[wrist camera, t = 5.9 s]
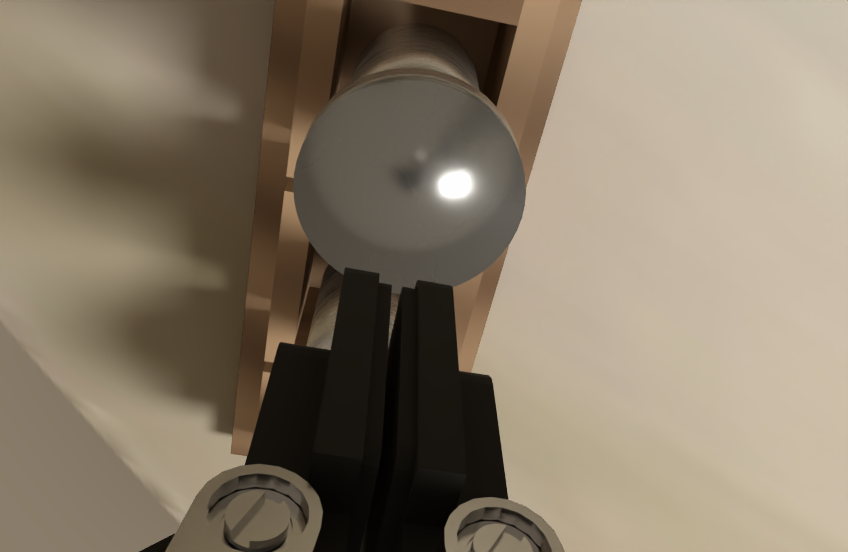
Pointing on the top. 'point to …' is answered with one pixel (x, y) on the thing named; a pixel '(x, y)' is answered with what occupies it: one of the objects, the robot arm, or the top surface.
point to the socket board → (306, 95)
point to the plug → (410, 166)
